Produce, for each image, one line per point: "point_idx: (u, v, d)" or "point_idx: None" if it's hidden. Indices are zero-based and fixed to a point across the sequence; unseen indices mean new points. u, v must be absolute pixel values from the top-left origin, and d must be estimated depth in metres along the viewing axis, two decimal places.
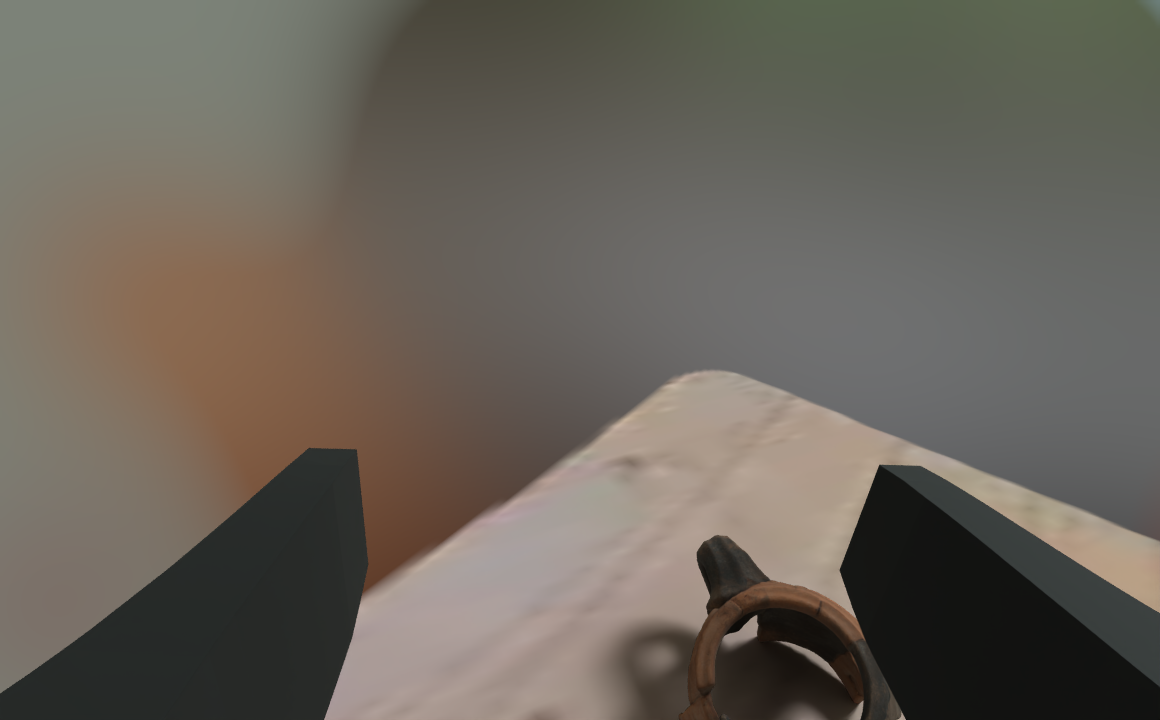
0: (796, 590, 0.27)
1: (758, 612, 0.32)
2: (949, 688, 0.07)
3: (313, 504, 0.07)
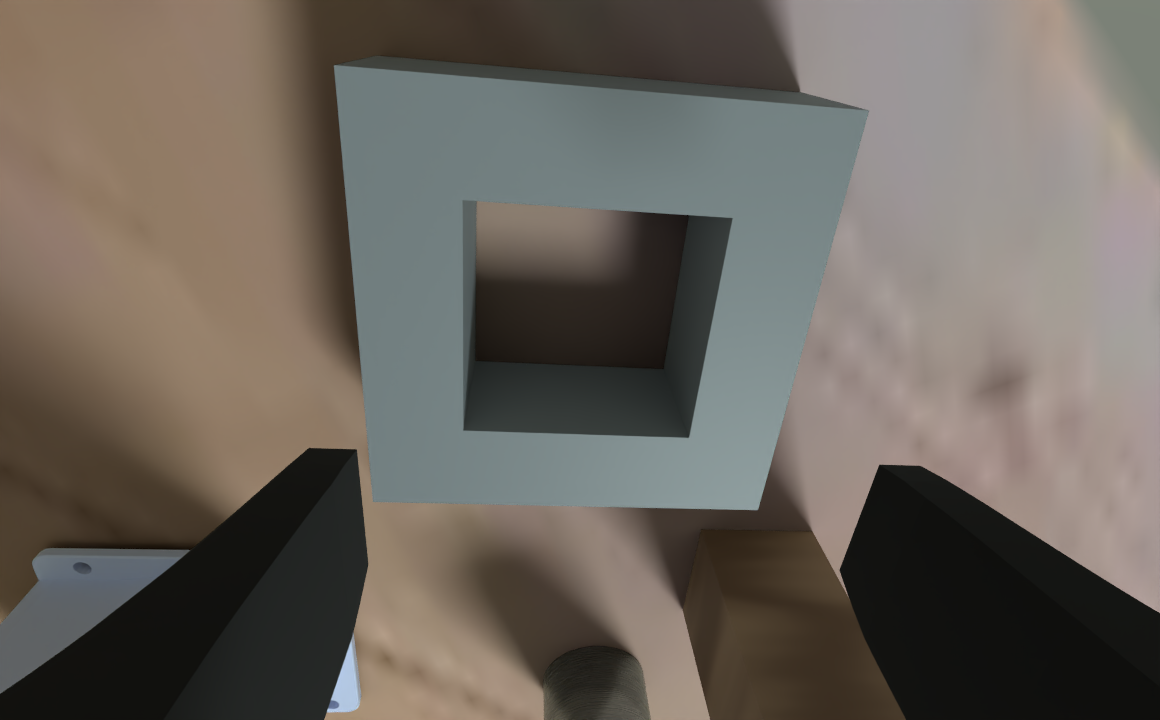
0: None
1: None
2: (949, 688, 0.07)
3: (313, 504, 0.07)
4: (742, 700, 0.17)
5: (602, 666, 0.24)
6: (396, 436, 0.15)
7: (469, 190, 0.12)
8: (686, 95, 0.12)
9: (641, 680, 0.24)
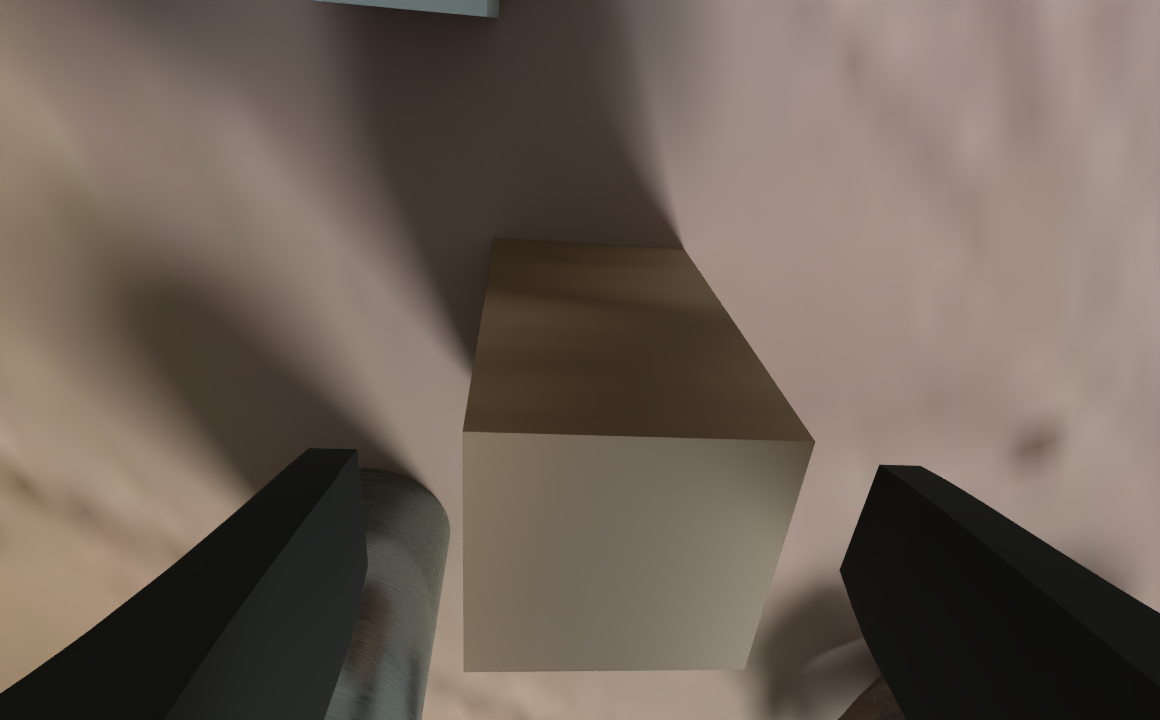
0: None
1: None
2: (949, 687, 0.07)
3: (314, 504, 0.07)
4: None
5: (361, 492, 0.15)
6: None
7: None
8: None
9: (432, 521, 0.15)
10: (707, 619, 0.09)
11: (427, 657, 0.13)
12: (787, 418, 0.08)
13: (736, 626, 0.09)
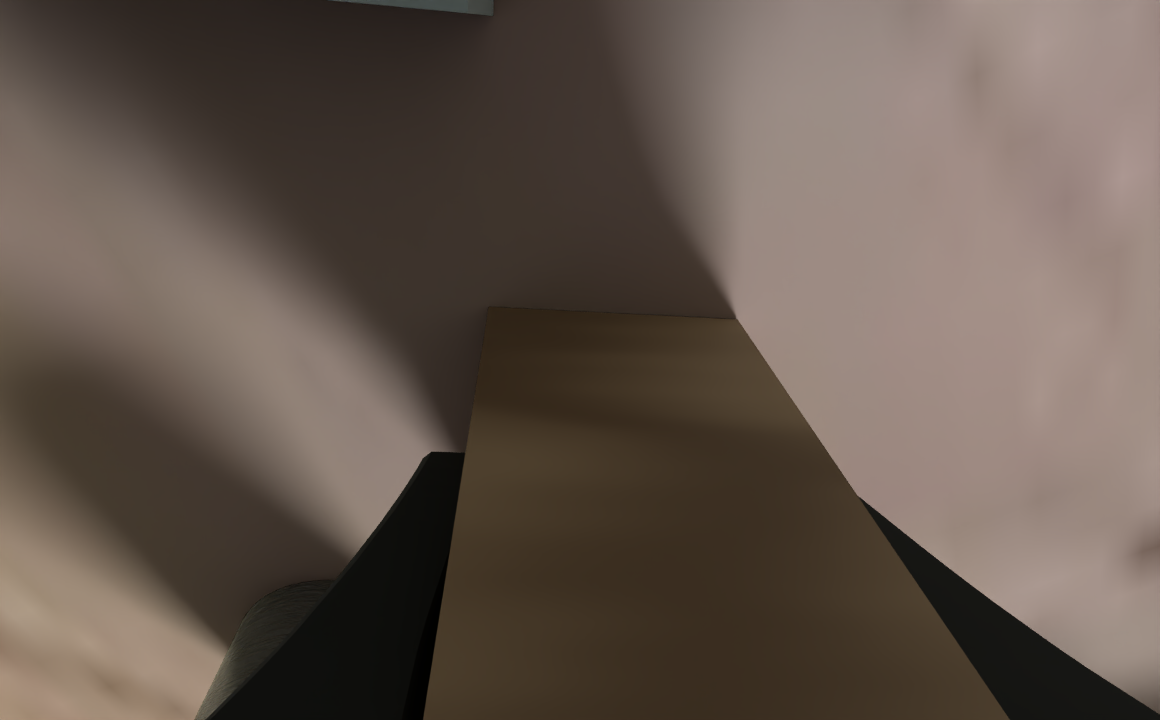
0: None
1: None
2: None
3: None
4: None
5: None
6: None
7: None
8: None
9: None
10: None
11: None
12: (973, 697, 0.05)
13: None
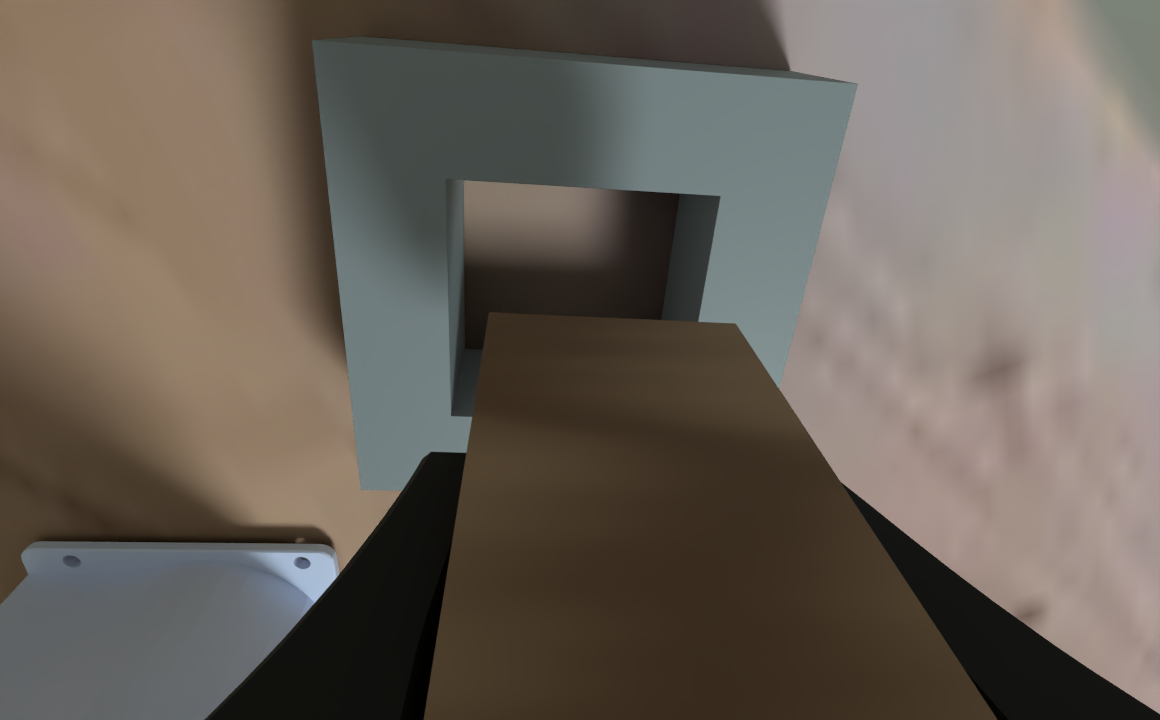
0: None
1: None
2: None
3: None
4: None
5: None
6: (383, 422, 0.15)
7: (452, 169, 0.12)
8: (671, 69, 0.12)
9: None
10: None
11: None
12: (964, 700, 0.05)
13: None
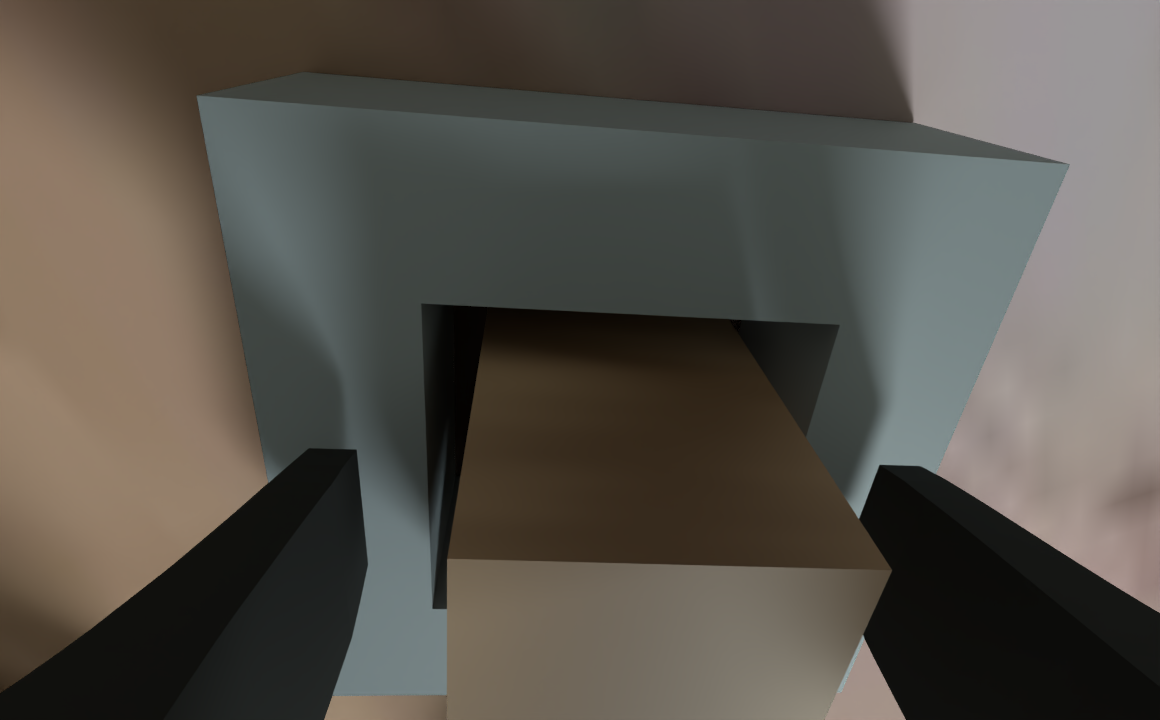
0: None
1: None
2: (949, 688, 0.07)
3: (313, 504, 0.07)
4: None
5: None
6: None
7: (431, 289, 0.08)
8: (781, 141, 0.07)
9: None
10: None
11: None
12: (852, 532, 0.06)
13: None
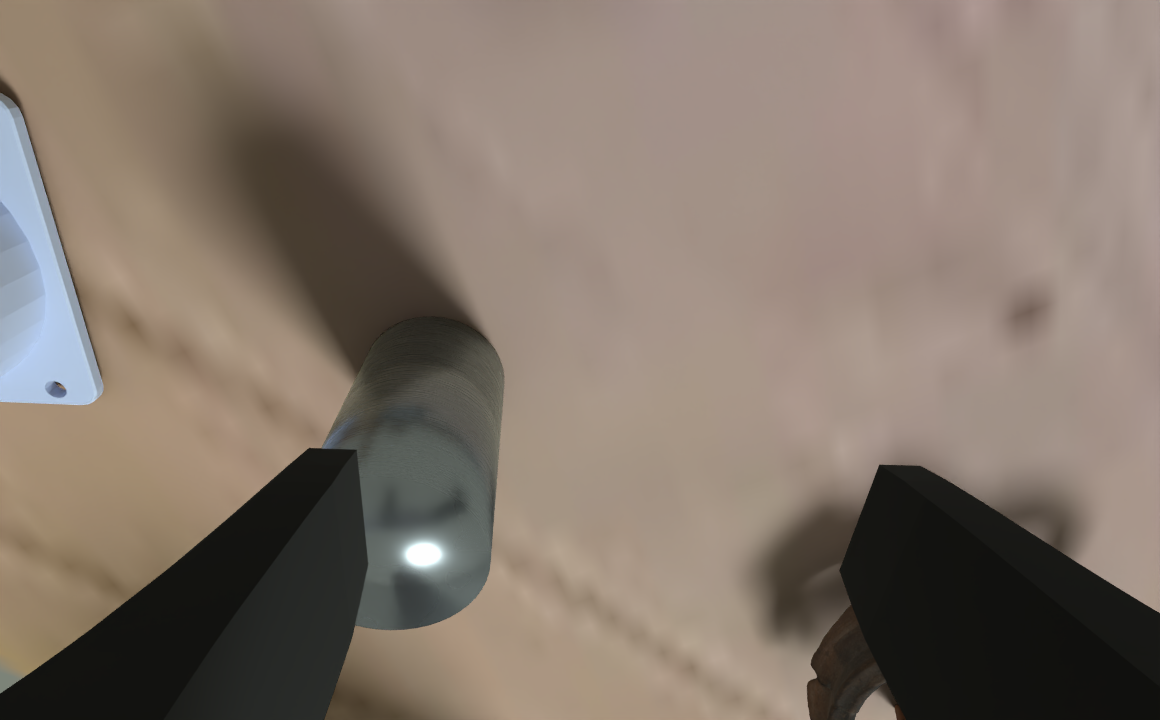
0: None
1: None
2: (950, 687, 0.07)
3: (313, 504, 0.07)
4: None
5: (433, 331, 0.17)
6: None
7: None
8: None
9: (493, 363, 0.17)
10: None
11: (497, 456, 0.15)
12: None
13: None
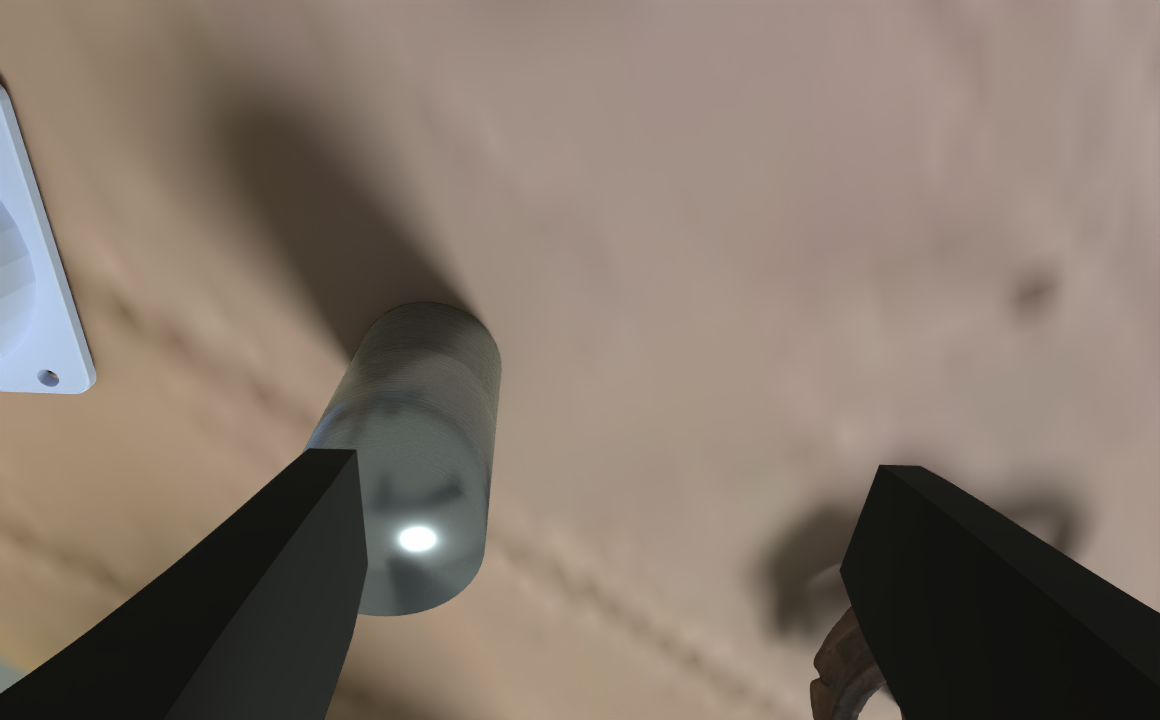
0: None
1: None
2: (949, 688, 0.07)
3: (313, 503, 0.07)
4: None
5: (428, 315, 0.17)
6: None
7: None
8: None
9: (489, 348, 0.17)
10: None
11: (493, 441, 0.15)
12: None
13: None
